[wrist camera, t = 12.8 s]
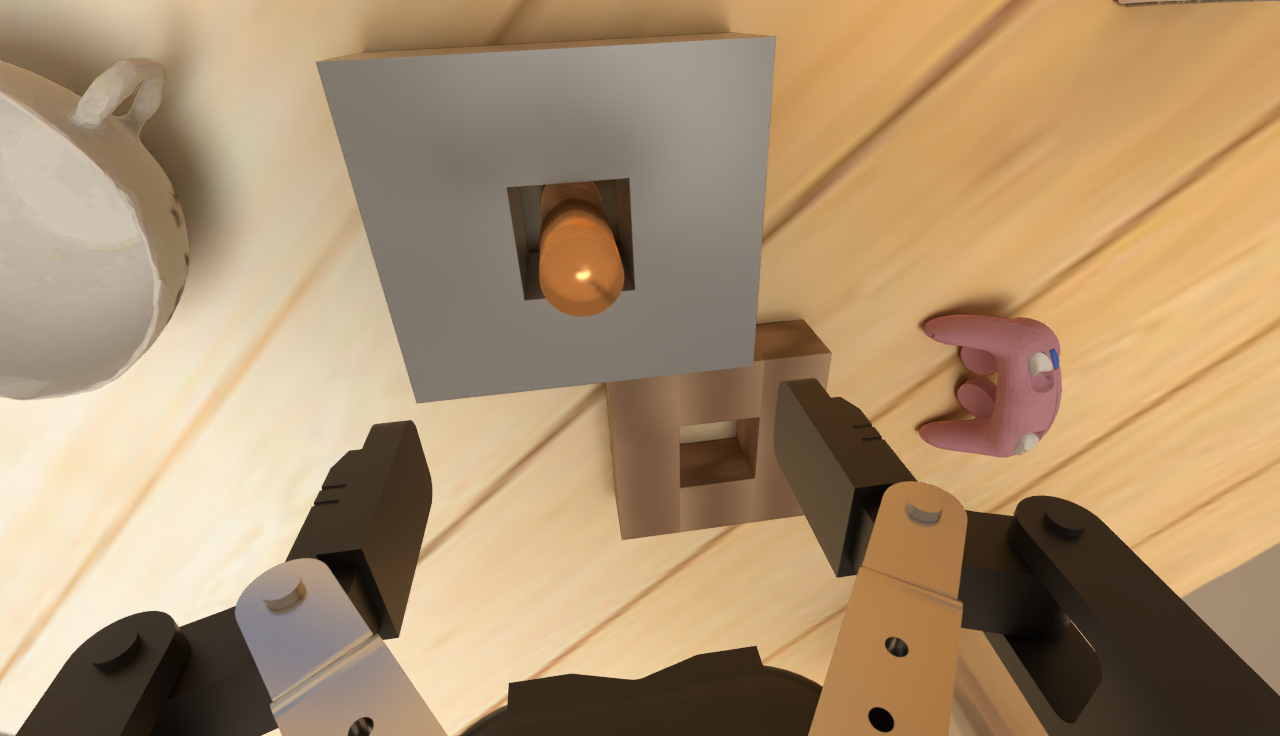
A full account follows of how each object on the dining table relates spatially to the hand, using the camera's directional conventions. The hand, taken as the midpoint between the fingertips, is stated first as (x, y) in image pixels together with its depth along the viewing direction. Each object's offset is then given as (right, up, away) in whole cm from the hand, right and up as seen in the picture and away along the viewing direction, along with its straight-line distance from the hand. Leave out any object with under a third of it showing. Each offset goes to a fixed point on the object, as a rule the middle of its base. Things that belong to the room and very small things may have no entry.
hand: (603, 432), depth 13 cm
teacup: (-23, +10, +13) cm, 28 cm away
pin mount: (+5, -1, +24) cm, 25 cm away
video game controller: (+22, +2, +25) cm, 33 cm away
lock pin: (-3, +10, +16) cm, 19 cm away
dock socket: (-3, +10, +16) cm, 19 cm away
